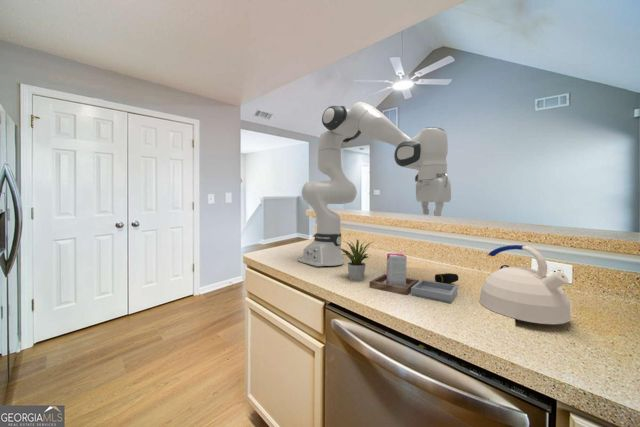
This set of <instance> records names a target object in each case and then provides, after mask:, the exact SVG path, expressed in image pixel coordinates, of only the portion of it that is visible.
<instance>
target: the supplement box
mask: <svg viewBox="0 0 640 427" xmlns="http://www.w3.org/2000/svg"><path fill="white" fill-rule="evenodd" d="M386 255H387V256H386V257H387V258H386V274H387V277H386V280H385V281H386V283H385V284H390V285H395V286H400V287H406V286H407V284H406V278H407V256H406V255H405V254H403V253H387V254H386Z"/></svg>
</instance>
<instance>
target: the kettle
mask: <svg viewBox="0 0 640 427" xmlns="http://www.w3.org/2000/svg"><path fill="white" fill-rule="evenodd" d="M510 250H511V251H512V250H520V251H526V252H528V253H530V254H531V255H532V256H533V257H534V259H535V261H536V263H537V270H536V269H533V268H530V267H525V266H509V265H508V264H507V265H506V264H503V265H501V266H500V267H499V269H498V270H496V271H494V272H492V273H491V274H489V276H488V277H486V278H485V280H484V281H483V283H482V285H481V289H480V296H479V300H478V301H479V302H480V304H481V305H482V306H483V307H484V308H486V309H488V310H490V311H492V312H494V313H496V314H499V315H502V316H505V317H509V318H511V319H514V320H517V321H522V322H523V321H524V322H528V323H533V324H539V325H540V324H541V325H563V324H565V323H568V322H570V321H571V320H572V316H571V306H570V305H571V304H570V300H569V298H568V297H567V295H566V293H565V291H564V289H562V286H564V285H567V284H569V281H570V280H569V278H568V276H567V275H566V274H565V273H563V272H561V271H557V270H556V271H554V273H552V274H550V275H547V273H548V263H547V261H546V259H545V258H544V256H543V255H542V253H541V252H540V251H538V250H537V249H535V248H533V247H530V246H527V245H523V244H510V245H509V244H508V245H505V246H500V247H497V248H495V249H493V250H491V251H490V252H489V253H488V254H487V255H488V256H490V257H495V256H497V255H498V254H500V253H502V252H506V251H510Z"/></svg>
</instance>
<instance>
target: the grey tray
mask: <svg viewBox="0 0 640 427" xmlns="http://www.w3.org/2000/svg"><path fill="white" fill-rule="evenodd" d="M458 289H459V288H458V285H456V284H451V283H448V284H444V283H438V282H436V281H432V280H431V281H430V280H425V279H420V280H419V282H418V283H416V284H415V285H414V286H412V287H411V292H410V296H413V297H418V298H422V299H426V300H432V301H437V302H442V303H447V304H452V302H453V301H454V300H455V298H456V296H457V294H458Z"/></svg>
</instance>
